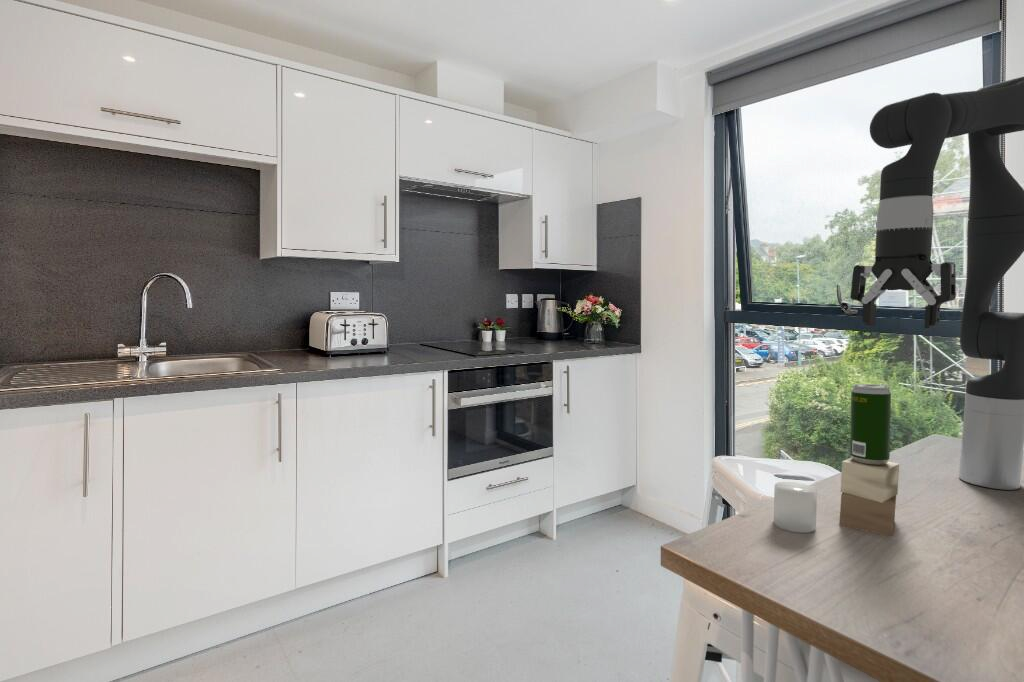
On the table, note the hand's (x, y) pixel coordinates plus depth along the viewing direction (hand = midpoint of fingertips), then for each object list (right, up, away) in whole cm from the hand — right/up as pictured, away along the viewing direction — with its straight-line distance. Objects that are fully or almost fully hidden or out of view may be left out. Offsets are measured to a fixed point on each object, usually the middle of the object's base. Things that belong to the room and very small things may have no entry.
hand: (898, 327), depth 94 cm
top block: (-7, -27, -3) cm, 27 cm away
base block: (-7, -32, -3) cm, 32 cm away
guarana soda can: (-7, -22, -3) cm, 23 cm away
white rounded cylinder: (-19, -31, -4) cm, 37 cm away
